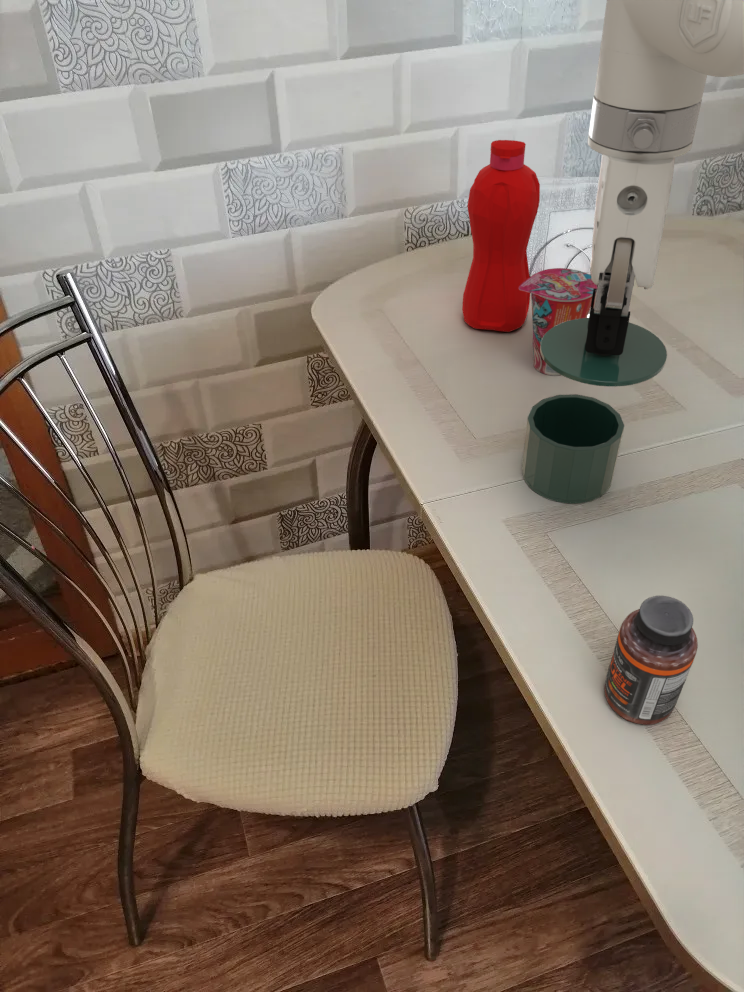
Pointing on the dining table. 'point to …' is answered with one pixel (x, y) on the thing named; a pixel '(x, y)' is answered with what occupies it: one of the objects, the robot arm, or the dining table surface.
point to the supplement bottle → (651, 660)
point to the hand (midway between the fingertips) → (604, 340)
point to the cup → (556, 304)
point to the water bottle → (500, 239)
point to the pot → (571, 448)
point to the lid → (602, 355)
